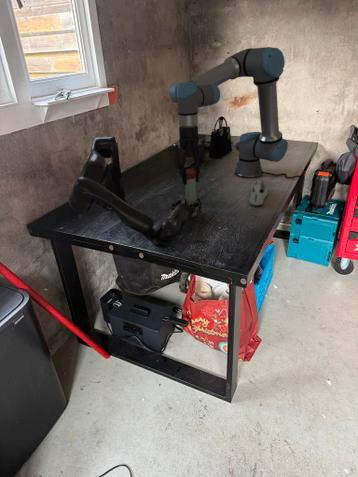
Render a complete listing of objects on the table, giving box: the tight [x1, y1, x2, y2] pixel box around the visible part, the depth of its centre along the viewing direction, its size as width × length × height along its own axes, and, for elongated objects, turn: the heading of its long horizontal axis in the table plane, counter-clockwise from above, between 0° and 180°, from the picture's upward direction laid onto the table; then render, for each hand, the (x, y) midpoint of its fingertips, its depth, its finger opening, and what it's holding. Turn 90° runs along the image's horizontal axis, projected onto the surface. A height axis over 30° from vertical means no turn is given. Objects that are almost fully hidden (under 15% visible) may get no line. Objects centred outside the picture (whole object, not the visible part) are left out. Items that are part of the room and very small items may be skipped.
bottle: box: [184, 178, 198, 218], centre depth 143 cm, size 4×4×19 cm
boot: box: [180, 150, 195, 169], centre depth 209 cm, size 9×24×20 cm, turn 168°
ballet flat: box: [249, 179, 269, 207], centre depth 158 cm, size 8×24×8 cm, turn 163°
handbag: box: [208, 115, 233, 159], centre depth 220 cm, size 21×9×25 cm, turn 148°
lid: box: [186, 169, 196, 179], centre depth 138 cm, size 5×5×2 cm
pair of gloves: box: [204, 134, 234, 149], centre depth 250 cm, size 30×26×5 cm
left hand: (193, 199), depth 147 cm, fingers closed on bottle, 4 cm apart
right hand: (190, 182), depth 140 cm, fingers closed on lid, 5 cm apart
